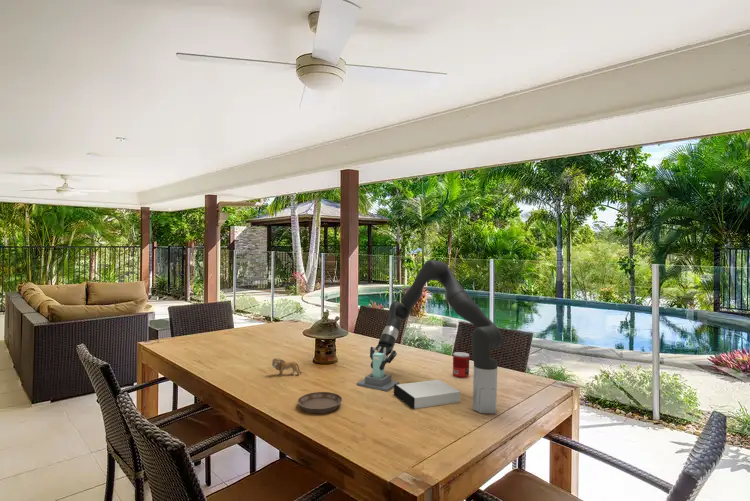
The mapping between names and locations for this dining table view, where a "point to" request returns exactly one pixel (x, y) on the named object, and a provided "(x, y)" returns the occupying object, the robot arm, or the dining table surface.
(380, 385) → the port block
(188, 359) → the dining table surface
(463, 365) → the canned food
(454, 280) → the robot arm
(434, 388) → the disc drive
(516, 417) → the dining table surface
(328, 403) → the plant saucer
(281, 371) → the lion figurine
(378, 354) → the plug
